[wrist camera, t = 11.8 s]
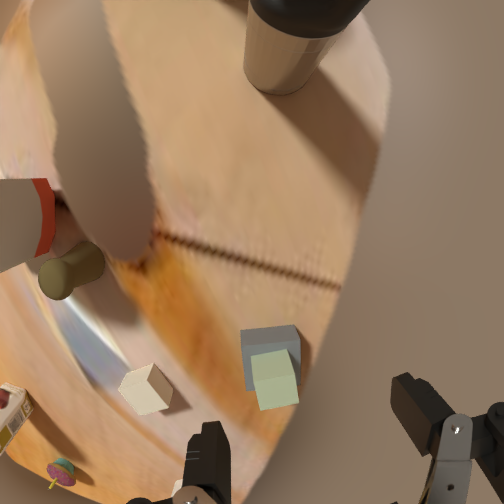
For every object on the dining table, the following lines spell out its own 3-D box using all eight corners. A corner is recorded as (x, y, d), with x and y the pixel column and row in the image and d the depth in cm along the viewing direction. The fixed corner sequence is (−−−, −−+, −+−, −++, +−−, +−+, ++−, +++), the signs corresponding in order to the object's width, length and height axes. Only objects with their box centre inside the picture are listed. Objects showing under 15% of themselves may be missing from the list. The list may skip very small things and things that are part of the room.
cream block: (126, 372, 44) (117, 389, 39) (154, 362, 44) (146, 380, 39) (146, 397, 45) (139, 415, 41) (173, 388, 45) (168, 407, 40)
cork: (112, 266, 40) (77, 291, 29) (87, 287, 41) (51, 315, 30) (89, 233, 39) (48, 248, 28) (65, 256, 39) (24, 276, 29)
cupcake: (48, 450, 49) (31, 479, 37) (73, 458, 49) (58, 490, 38) (60, 468, 51) (46, 497, 39) (85, 476, 51) (72, 507, 40)
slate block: (240, 329, 43) (241, 346, 39) (293, 323, 44) (300, 339, 39) (245, 372, 45) (246, 391, 40) (294, 366, 45) (300, 385, 41)
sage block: (250, 356, 39) (253, 382, 33) (286, 348, 39) (294, 373, 33) (257, 383, 40) (260, 410, 34) (291, 376, 40) (299, 402, 34)
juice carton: (37, 412, 46) (1, 464, 27) (13, 402, 45) (-24, 449, 27) (27, 387, 44) (-16, 439, 26) (2, 377, 44) (-41, 423, 25)
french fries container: (36, 247, 39) (-40, 278, 21) (34, 180, 36) (-47, 184, 19) (57, 248, 39) (-20, 282, 21) (55, 178, 37) (-27, 180, 19)
